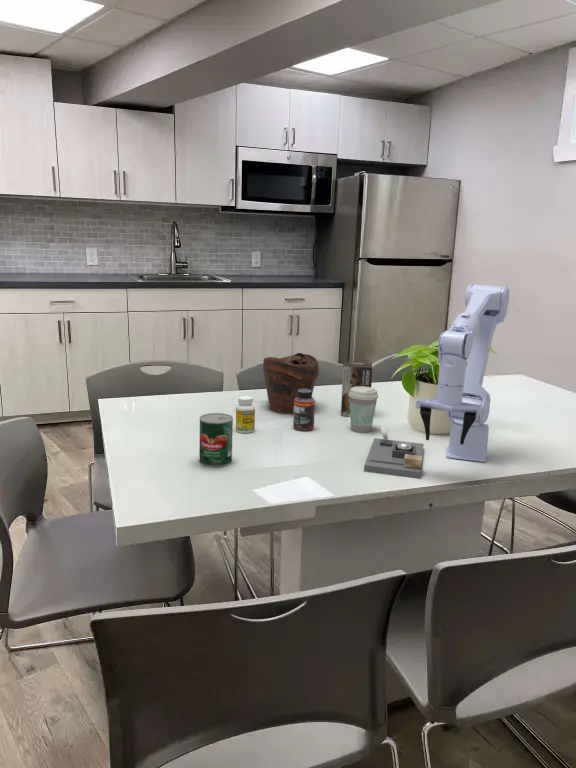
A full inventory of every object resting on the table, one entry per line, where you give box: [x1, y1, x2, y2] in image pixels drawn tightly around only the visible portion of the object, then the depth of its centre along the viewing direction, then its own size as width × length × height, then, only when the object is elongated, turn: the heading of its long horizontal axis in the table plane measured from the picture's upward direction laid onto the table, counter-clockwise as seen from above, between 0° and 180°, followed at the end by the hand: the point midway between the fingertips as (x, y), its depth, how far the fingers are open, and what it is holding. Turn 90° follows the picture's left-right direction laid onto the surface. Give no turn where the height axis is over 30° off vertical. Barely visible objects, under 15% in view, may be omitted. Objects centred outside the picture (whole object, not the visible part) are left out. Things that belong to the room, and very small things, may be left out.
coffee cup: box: [349, 386, 379, 434], centre depth 170 cm, size 8×8×12 cm
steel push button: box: [397, 440, 412, 452], centre depth 147 cm, size 4×4×2 cm
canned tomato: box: [198, 412, 234, 468], centre depth 141 cm, size 8×8×11 cm
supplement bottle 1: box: [235, 395, 256, 434], centre depth 165 cm, size 5×5×10 cm
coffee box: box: [340, 361, 374, 417], centre depth 185 cm, size 9×6×16 cm
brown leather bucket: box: [262, 352, 320, 415], centre depth 189 cm, size 18×20×18 cm
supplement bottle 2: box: [292, 389, 316, 432], centre depth 169 cm, size 6×6×11 cm
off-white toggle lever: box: [380, 427, 389, 440], centre depth 154 cm, size 1×1×4 cm
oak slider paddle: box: [404, 454, 423, 470], centre depth 140 cm, size 4×3×2 cm
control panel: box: [363, 437, 424, 479], centre depth 148 cm, size 13×21×3 cm, turn 165°
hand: (444, 441), depth 137 cm, fingers open, 7 cm apart
